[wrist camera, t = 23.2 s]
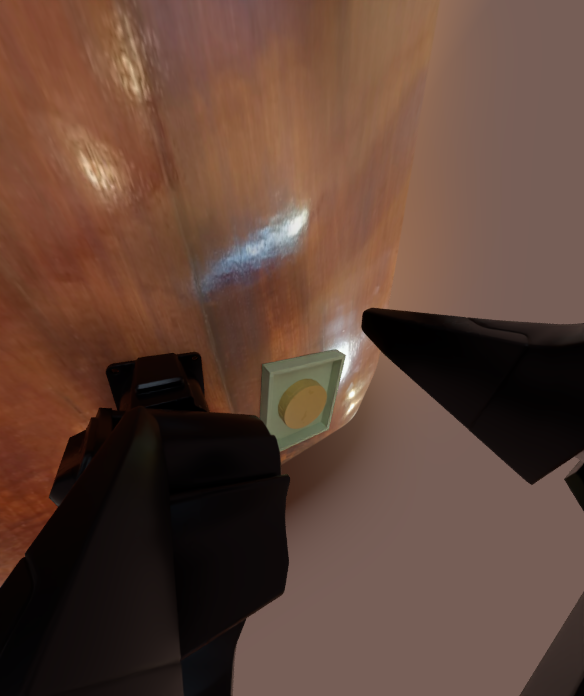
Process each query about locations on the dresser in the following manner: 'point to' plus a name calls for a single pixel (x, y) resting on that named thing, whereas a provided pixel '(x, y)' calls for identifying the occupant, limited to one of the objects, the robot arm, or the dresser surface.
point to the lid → (302, 403)
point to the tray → (284, 375)
